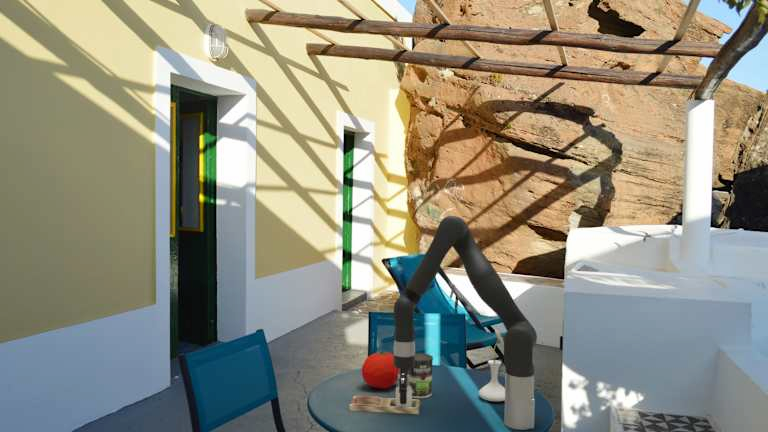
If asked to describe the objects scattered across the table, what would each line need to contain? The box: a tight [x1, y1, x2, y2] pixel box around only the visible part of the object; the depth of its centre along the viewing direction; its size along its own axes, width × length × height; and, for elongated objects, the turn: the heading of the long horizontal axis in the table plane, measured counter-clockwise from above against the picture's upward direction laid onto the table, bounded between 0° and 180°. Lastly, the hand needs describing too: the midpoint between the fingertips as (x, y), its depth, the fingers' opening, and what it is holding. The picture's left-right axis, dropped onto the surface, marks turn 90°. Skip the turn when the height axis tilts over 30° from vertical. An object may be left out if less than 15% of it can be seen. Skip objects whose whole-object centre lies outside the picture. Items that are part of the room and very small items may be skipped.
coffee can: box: [409, 352, 434, 399], centre depth 228 cm, size 10×10×14 cm
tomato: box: [361, 348, 400, 389], centre depth 234 cm, size 16×14×14 cm
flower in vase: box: [477, 329, 505, 402], centre depth 224 cm, size 13×11×25 cm
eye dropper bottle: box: [394, 385, 413, 407], centre depth 212 cm, size 4×6×12 cm
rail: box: [348, 395, 421, 415], centre depth 213 cm, size 24×8×2 cm, turn 84°
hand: (403, 401), depth 213 cm, fingers closed on eye dropper bottle, 4 cm apart
